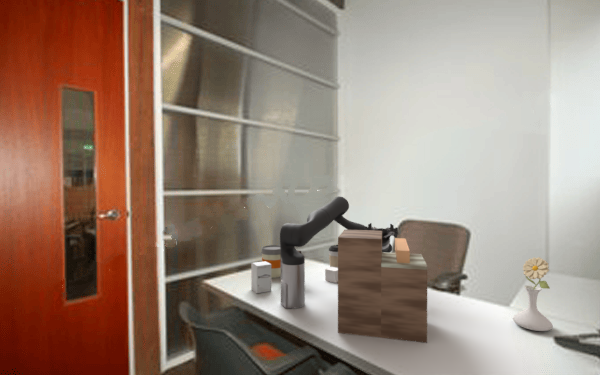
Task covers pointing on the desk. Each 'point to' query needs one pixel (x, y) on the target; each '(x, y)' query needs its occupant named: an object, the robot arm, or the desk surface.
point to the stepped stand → (380, 289)
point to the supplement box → (261, 277)
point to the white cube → (331, 274)
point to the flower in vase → (534, 297)
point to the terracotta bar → (402, 250)
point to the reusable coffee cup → (272, 259)
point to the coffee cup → (333, 256)
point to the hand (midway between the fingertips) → (380, 225)
